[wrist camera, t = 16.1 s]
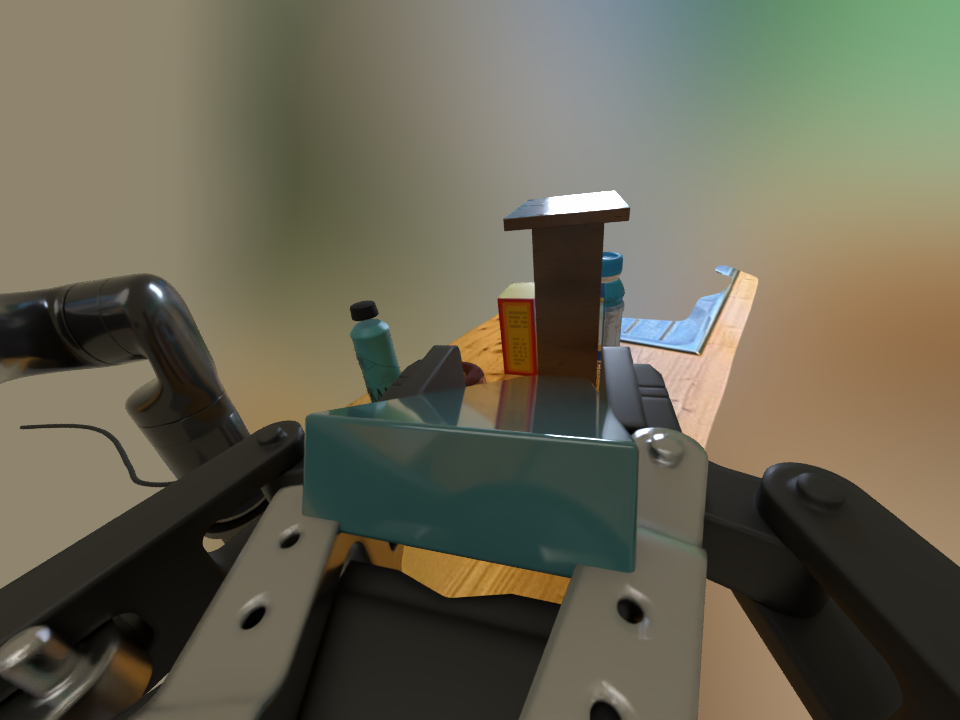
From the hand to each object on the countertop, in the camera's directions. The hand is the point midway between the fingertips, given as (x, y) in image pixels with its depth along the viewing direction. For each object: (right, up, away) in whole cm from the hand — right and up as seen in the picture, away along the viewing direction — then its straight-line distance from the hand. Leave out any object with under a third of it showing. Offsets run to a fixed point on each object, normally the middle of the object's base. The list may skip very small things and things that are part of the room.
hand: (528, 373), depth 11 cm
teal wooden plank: (+1, -2, +5) cm, 6 cm away
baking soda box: (+8, 0, +61) cm, 62 cm away
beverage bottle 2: (+23, +1, +61) cm, 65 cm away
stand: (+11, -12, +39) cm, 42 cm away
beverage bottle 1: (-18, -8, +53) cm, 56 cm away
